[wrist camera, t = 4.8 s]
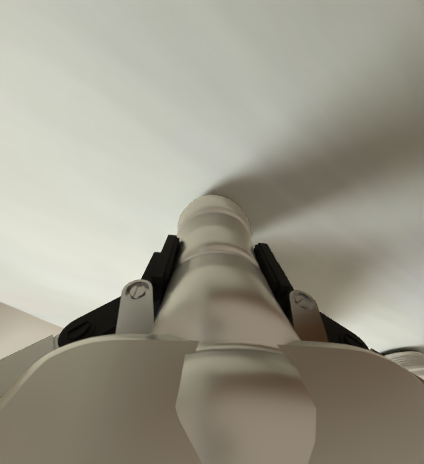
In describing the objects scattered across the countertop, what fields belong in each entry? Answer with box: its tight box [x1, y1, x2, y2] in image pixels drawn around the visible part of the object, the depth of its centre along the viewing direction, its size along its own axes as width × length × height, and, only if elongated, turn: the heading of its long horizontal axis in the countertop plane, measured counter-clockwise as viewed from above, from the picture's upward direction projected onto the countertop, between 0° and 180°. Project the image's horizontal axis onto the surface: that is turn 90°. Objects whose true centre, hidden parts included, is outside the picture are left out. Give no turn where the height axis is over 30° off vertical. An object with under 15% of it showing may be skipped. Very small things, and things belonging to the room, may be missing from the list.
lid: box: [385, 351, 424, 380], centre depth 32 cm, size 13×13×5 cm
